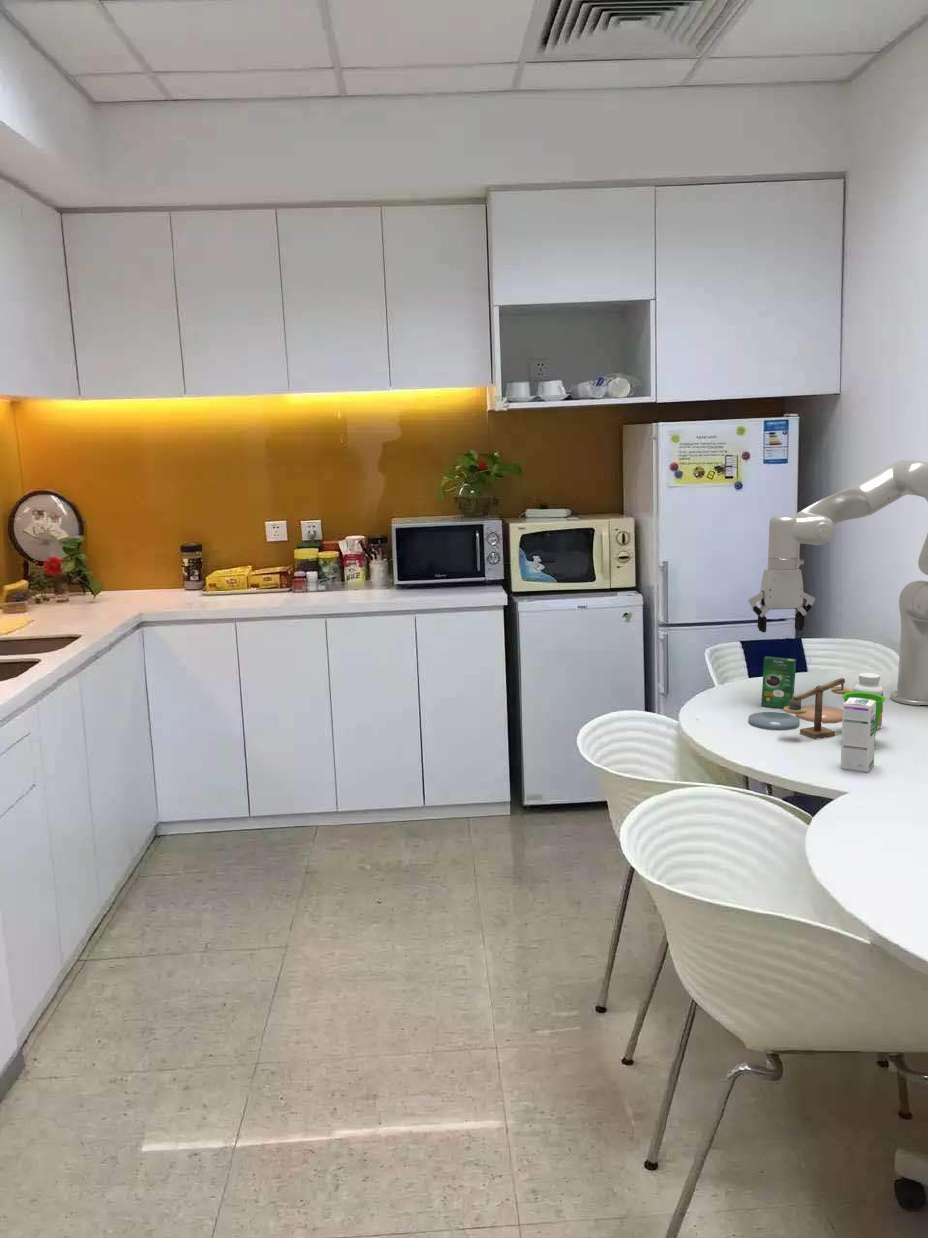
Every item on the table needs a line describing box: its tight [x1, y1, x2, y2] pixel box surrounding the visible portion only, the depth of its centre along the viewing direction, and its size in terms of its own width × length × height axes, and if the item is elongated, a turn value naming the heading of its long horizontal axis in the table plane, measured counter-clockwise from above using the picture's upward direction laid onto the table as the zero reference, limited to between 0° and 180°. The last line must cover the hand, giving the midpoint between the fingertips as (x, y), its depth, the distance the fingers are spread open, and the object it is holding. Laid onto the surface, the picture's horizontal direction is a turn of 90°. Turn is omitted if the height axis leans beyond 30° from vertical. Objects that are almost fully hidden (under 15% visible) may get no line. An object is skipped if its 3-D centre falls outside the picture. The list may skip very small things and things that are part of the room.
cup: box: [841, 692, 886, 736], centre depth 229 cm, size 9×9×11 cm
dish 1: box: [748, 711, 801, 731], centre depth 247 cm, size 12×12×1 cm
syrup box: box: [840, 697, 876, 773], centre depth 213 cm, size 6×6×14 cm
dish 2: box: [795, 704, 843, 724], centre depth 252 cm, size 12×12×1 cm
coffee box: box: [761, 655, 797, 710], centre depth 260 cm, size 8×3×13 cm, turn 63°
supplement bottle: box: [853, 672, 884, 730], centre depth 241 cm, size 7×7×13 cm
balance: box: [783, 677, 854, 740], centre depth 236 cm, size 19×5×13 cm, turn 112°
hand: (780, 630), depth 258 cm, fingers open, 9 cm apart
